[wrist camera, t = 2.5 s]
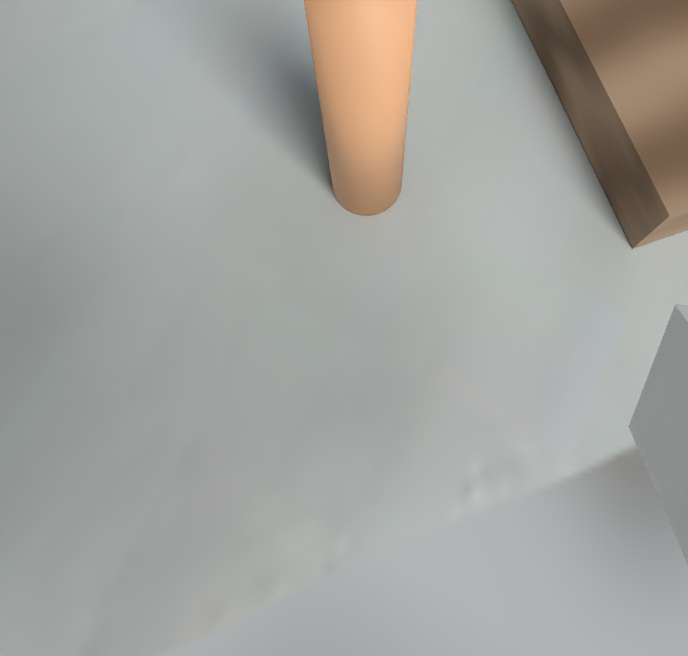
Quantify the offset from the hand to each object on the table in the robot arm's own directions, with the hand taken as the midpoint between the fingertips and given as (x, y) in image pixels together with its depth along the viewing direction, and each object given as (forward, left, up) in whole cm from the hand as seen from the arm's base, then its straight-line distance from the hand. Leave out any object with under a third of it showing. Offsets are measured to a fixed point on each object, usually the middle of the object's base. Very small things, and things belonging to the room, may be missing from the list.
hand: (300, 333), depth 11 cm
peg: (-10, +4, -15) cm, 18 cm away
